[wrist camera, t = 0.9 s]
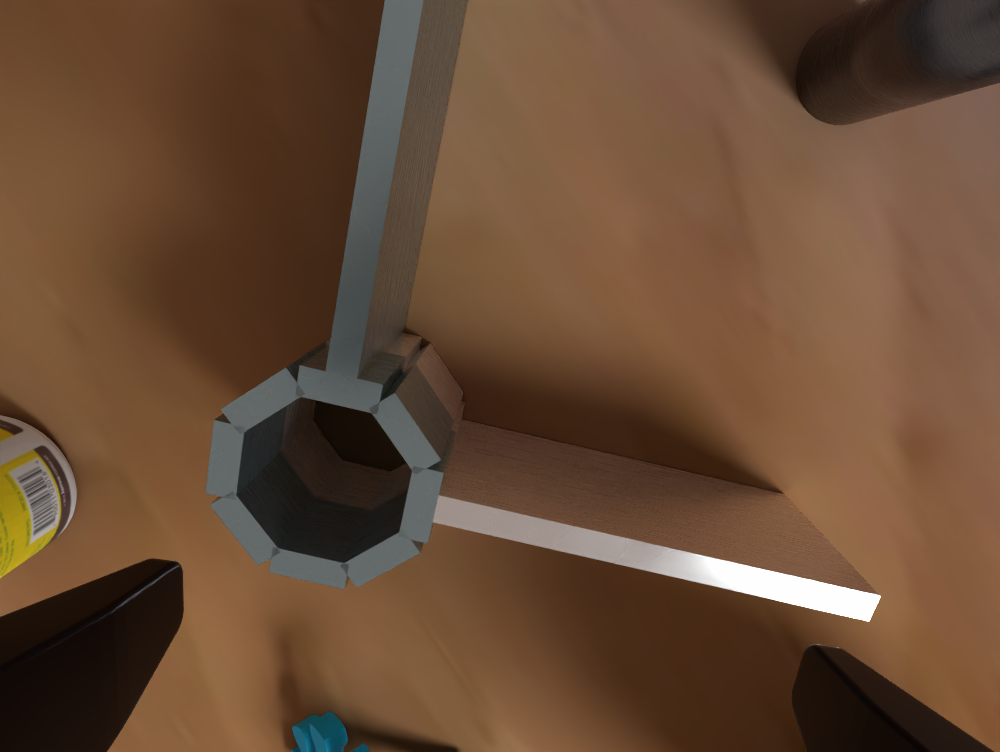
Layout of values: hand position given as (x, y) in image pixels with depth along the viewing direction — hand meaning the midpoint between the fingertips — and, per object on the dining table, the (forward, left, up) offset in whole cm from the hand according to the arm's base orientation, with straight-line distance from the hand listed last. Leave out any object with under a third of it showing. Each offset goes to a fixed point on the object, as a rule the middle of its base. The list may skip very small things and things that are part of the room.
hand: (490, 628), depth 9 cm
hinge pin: (-8, -12, -13) cm, 19 cm away
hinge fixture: (-2, -4, -13) cm, 13 cm away
